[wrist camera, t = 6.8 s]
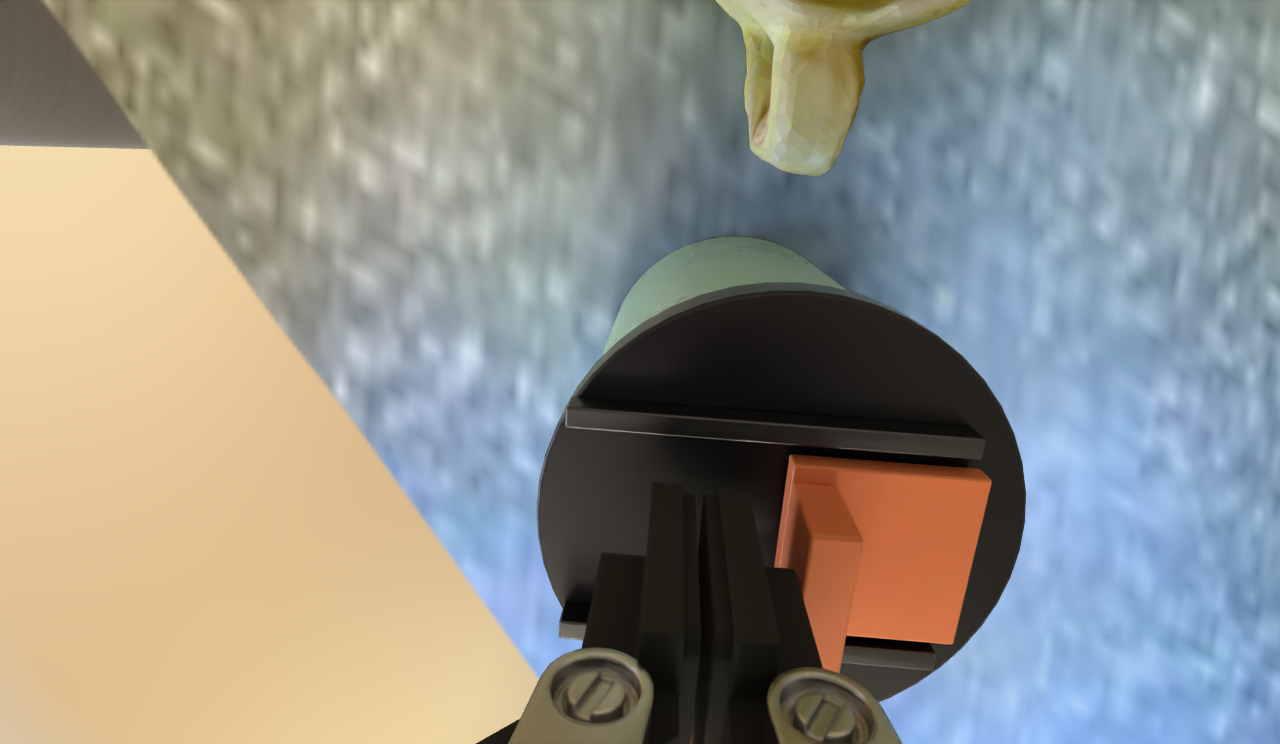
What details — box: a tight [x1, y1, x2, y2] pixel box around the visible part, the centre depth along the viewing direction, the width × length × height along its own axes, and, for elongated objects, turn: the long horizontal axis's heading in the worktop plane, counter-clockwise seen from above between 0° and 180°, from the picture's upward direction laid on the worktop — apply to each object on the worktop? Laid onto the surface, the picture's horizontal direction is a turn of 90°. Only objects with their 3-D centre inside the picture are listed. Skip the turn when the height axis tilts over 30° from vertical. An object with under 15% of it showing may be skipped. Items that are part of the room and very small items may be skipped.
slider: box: [774, 454, 992, 673], centre depth 11 cm, size 3×3×2 cm
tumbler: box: [537, 237, 1026, 702], centre depth 18 cm, size 9×9×13 cm
